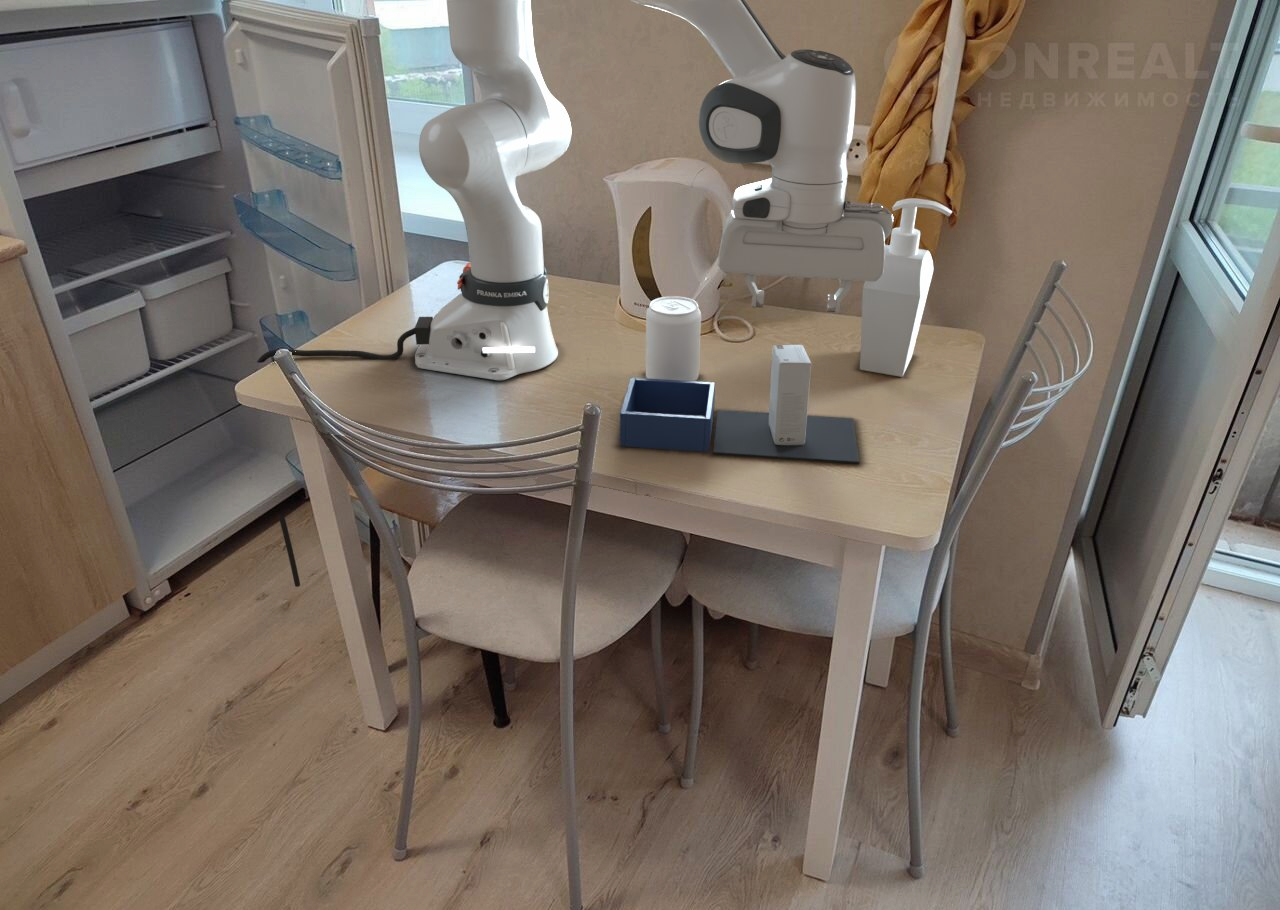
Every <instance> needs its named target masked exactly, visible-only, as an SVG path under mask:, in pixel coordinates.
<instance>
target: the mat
mask: <svg viewBox="0 0 1280 910" xmlns="http://www.w3.org/2000/svg"><path fill="white" fill-rule="evenodd" d="M714 431H715V432H714V438H713V439H714V441H713V448H712V449H713V450H712V455H714V456H728V457H729V456H730V457H744V458H760V459H774V460H775V459H776V460H790V461H804V462H805V461H806V462H816V463H817V462H819V463H832V464H833V463H834V464H847V465H848V464H849V465H860V457H859V451H858V449H859V448H858V444H857V437H856V436H857V435H856V430H855V424H854V418H852V417H837V416H836V417H835V416H824V415H823V416H822V415H807V422H806V435H805V443H804V445H775V443H774V440H773V437H772V434H771V430H770V427H769V412H756V411H743V410H725V409H724V410H723V409H717V414H716V423H715V430H714Z"/></svg>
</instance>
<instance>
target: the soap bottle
mask: <svg viewBox="0 0 1280 910" xmlns="http://www.w3.org/2000/svg"><path fill="white" fill-rule="evenodd" d="M918 208H922V209H932V210H935V211H937V212H940V213H942V214H943V215H945V216H947V217H950V216H951V215H952V213H953V210H951V209H950V208H949V207H947V206H945V205H944V204H942V203H939V202H938V201H934V200H930V199H923V198H916V197H914V198H913V197H911V198H903V199H900V200H897V201H895V203H894V204H893V206H891V210H892V212H895V211H897V210H899V209H900V210H901V215H900V216H901V217H900V223H899V226H898V227H894V228H892V230H891V233H890V240H889V241H890V242H889V245H888V244H885V263H884V272H883V275H882V276H881V277H880V278H879V279H878V280H877V281H874V282H872V281H864V284H863V286H862V294H861V295H862V296H861V297H862V299H861V301H862V302H861V326H860V328H861V329H860V351H859V352H860V353H859V354H860V355H859V370H861V371H867V372H871V373H877V374H884V375H888V376H889V375H890V376H894V377H900V378H903V377H904V374H905V372H906V371H907V368H908V366H909V364H910V361H911V360H912V358H913V354H914V350H915V346H916V342H917V338H918V334H919V330H920V326H921V321H922V318H923V315H924V314H923V313H924V310H925V307H926V302H927V297H928V293H929V290H930V286H931V282H932V278H933V273H934V261H933V257H932V254H931V252H930V251H929V250H928V249H921V248H919V246H920V238H921V231H920V230H919V229H917V228H915V222H916V216H917V212H918V211H917V210H918Z"/></svg>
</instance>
